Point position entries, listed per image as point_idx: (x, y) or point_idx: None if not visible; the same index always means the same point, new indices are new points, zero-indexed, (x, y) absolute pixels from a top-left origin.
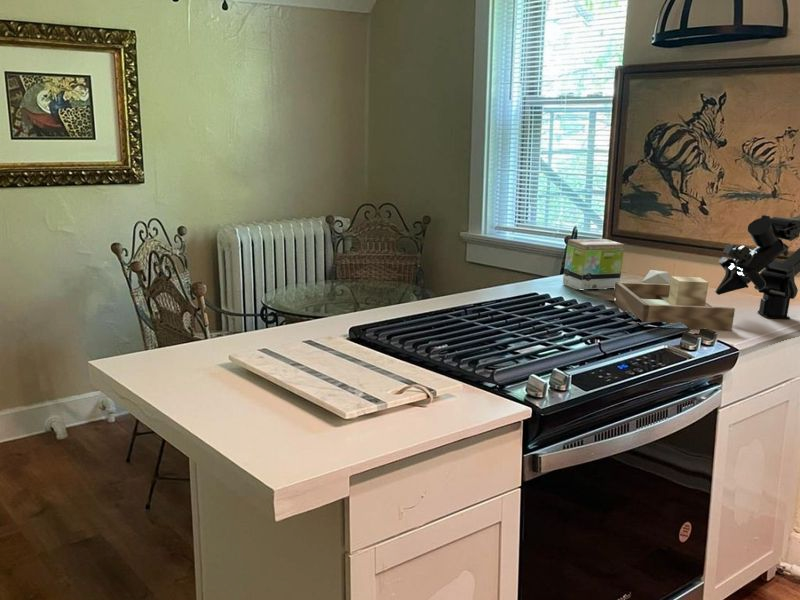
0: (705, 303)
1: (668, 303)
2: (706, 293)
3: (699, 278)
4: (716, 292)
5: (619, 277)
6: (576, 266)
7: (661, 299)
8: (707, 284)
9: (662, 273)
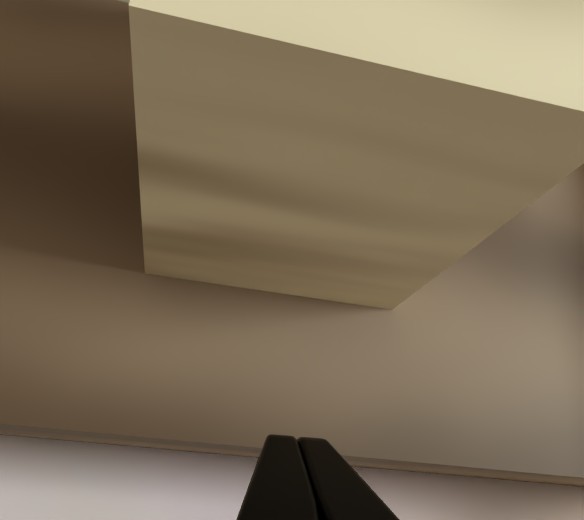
0: (412, 431)
1: None
2: (141, 165)
3: (531, 60)
4: (272, 438)
5: None
6: None
7: None
8: (131, 33)
9: None
